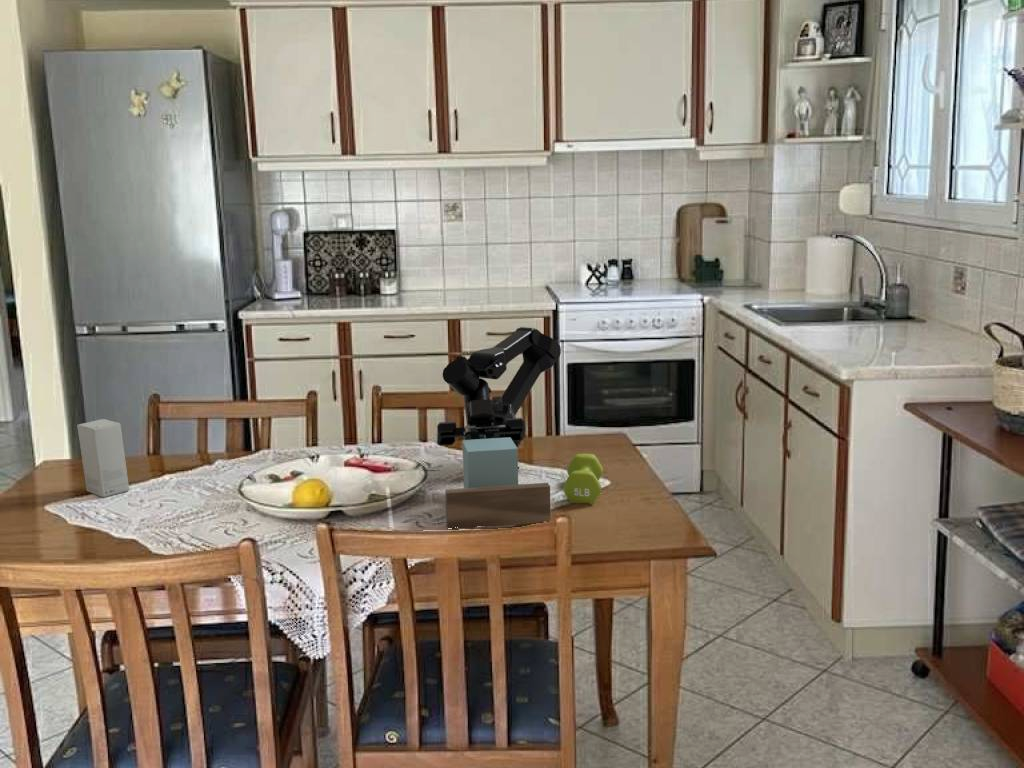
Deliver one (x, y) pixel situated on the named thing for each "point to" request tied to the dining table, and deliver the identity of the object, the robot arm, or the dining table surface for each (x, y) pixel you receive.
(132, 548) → the dining table surface
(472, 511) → the board
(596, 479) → the dumbbell
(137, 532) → the dining table surface
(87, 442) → the skincare box
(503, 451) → the block
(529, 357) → the robot arm
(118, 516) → the dining table surface
